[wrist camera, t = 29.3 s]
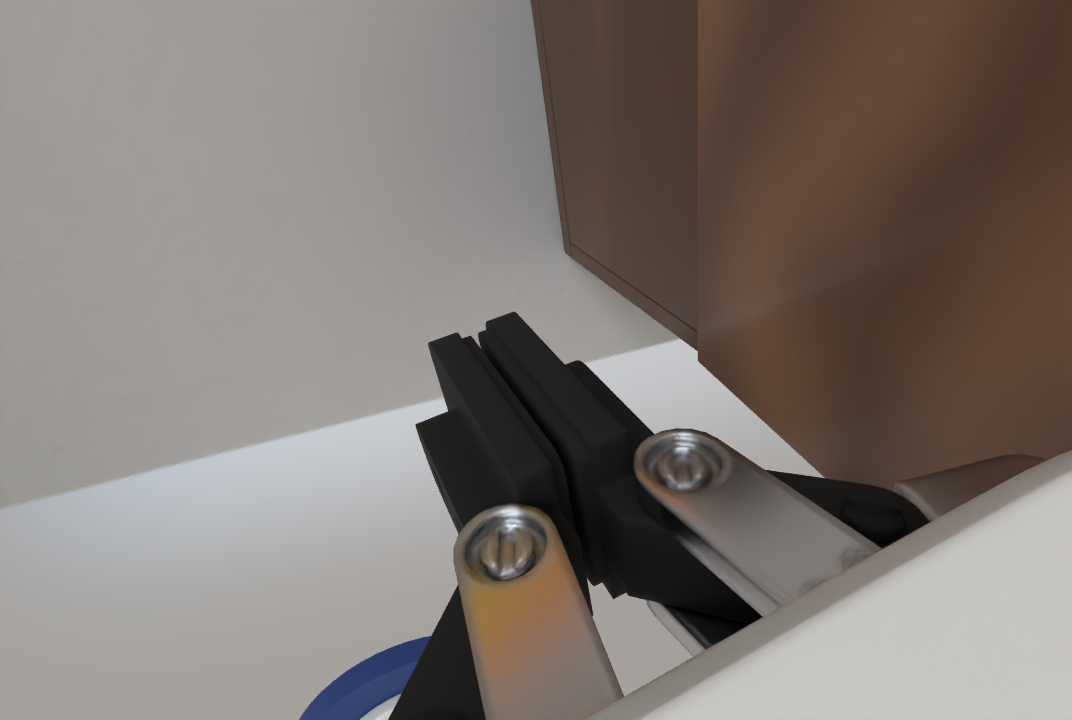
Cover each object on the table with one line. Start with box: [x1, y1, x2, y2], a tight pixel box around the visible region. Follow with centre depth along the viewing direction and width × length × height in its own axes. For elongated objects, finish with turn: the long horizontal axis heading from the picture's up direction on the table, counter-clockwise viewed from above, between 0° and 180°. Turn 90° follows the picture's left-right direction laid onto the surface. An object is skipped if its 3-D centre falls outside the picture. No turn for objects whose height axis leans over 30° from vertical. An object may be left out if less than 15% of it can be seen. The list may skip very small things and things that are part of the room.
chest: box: [531, 0, 698, 351], centre depth 27 cm, size 17×15×12 cm
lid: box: [698, 0, 1072, 491], centre depth 12 cm, size 18×15×1 cm
